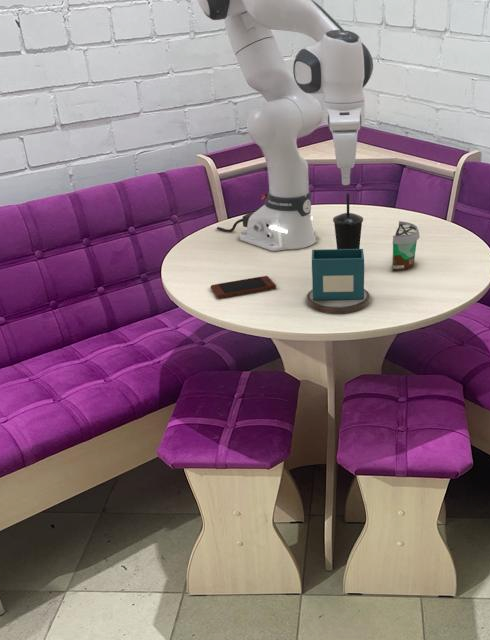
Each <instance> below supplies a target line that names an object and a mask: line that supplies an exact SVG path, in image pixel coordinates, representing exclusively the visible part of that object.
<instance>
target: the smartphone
mask: <svg viewBox="0 0 490 640" xmlns="http://www.w3.org/2000/svg"><path fill="white" fill-rule="evenodd" d="M276 288H277V285H276V284H275V282H273V280H272V279H271V278H270V277H269V276H268V275H262V276H256V277H251V278H244V279H238V280H233V281H225V282H220V283H215V284H211V285H210V289H211V291H212V292H213V293H214V295H215V297H216V298H218V299H222V298H229V297H233V296H240V295H245V294H250V293H257V292H262V291H269V290H273V289H276Z"/></svg>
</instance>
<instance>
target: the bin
mask: <svg viewBox="0 0 490 640" xmlns="http://www.w3.org/2000/svg"><path fill="white" fill-rule="evenodd" d="M364 254H365V253H364V249H363V248H359V249H337V248H333V249H332V248H331V249H330V248H328V249H326V248H325V249H324V248H323V249H311V282H312V286H311V287H312V289H313V300H333V299H364V289H365V255H364Z"/></svg>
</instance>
